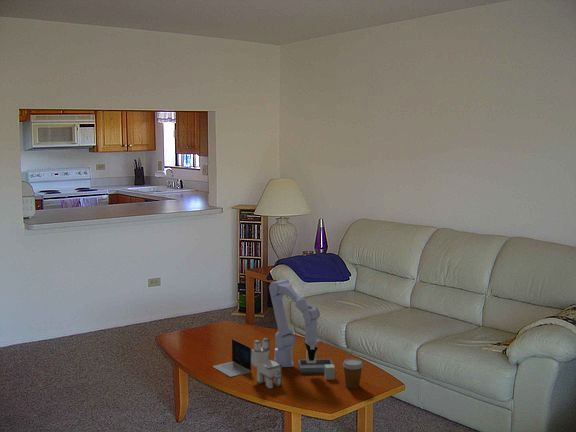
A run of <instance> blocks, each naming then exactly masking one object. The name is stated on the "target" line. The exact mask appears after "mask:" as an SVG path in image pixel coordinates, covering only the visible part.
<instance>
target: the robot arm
mask: <svg viewBox="0 0 576 432" xmlns="http://www.w3.org/2000/svg"><path fill="white" fill-rule="evenodd" d="M268 289H269V295H270V299H271V303H272V307H273V308H272V309H273V313H274V316H275V321H276V326H277V332H276V333H275V334H274V337H275V338H274V339H275V340H274V343H275V344H274V345H275V348H274V359H273V361H275V362H277V363H279V364H281V365H282V368H293V367H294V366H295V365H294V361H293V348H294V346H295V345H296V340H297V339H296V336H295V334H294V331H293V330H292V329H290V328H289V325H288V320H287V315H286V312H285V306H284V302H283V298H284V296H285V295H286V296H287V297H288V298H289V299H291V300H292V302H294V303H295V304H294V305H295V307H296V308H297V309H298V311H300V312H301V314H302V318H303V319H304V320H303V321H304V324H305V326H304V327H305V329H304V330H305V334H304V335H305V336H304V338H305V340H304V345H305V350H306V349H307V351H308V356H309V361H314V357H315V353H316V354H317V350H318V346H317V344H318V343H320V340H319V339H318V320H319V318H320V310H319V309H318V307H316V306H313V305H311V304H310V303H309V302H308V301H307V300H306V298H304V297H300V295H299V294H298V293H297V292H296V291H295V289H294V288H293V286H292V282H290V280H288V279H287V278H285V279H281V280H277V281H276V280H275V281H272V282H270V284H269V286H268Z"/></svg>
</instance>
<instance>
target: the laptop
mask: <svg viewBox="0 0 576 432" xmlns="http://www.w3.org/2000/svg"><path fill="white" fill-rule="evenodd" d="M251 349H252V348H251V347H250V346H249V345H246V344H244V343H242V342H240V341H238V340H236V339H233V338H231V357H232V359H231V361H229V362H228V361H227V362H225V363H220V364H215V365H212V368H213V369H216V370H217V371H219V372H221V373H222V374H224V375H226V376H228V377H229V378H232V377H237V376H241V375H247V374H250V373H251V371H252V365H251Z"/></svg>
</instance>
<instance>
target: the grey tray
mask: <svg viewBox="0 0 576 432" xmlns="http://www.w3.org/2000/svg"><path fill="white" fill-rule="evenodd" d="M325 364H333V361H332V359H331V358H316V363H307V361H306V359H298V360H297V366H298V370H299V374H300V375H303V374H304V375H305V374H308V375H309V374H324V372H325Z"/></svg>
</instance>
